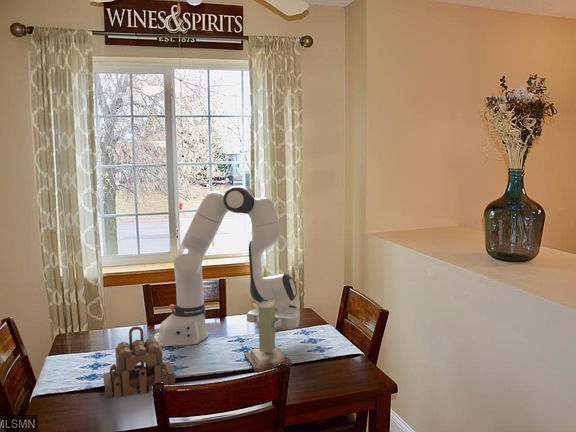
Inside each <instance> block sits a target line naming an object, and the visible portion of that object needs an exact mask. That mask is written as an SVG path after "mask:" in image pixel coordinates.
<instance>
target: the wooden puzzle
mask: <svg viewBox="0 0 576 432" xmlns="http://www.w3.org/2000/svg"><path fill="white" fill-rule="evenodd" d="M136 330H139V333H140V334H139V335H140V337H139V338H140V339H135V340H133V332H134V331H136ZM128 339H129V340H128V341H129V342H127V341H121V342H120V343H118V344H117V346H116V347H115V348H114V349H115V363H113V364H111V366H110V368H109V372H105V373H103V386H104V387H105V388H104V387H103V388H104V393H105V398H106V399H107V398H112V397H114V398H118V397H121V396H123V397H127V396H133V395H137V394H138V392H137V389H138V388H139V394H140V395H143V394H147V393H148V392H153V391H152V386H153V384H154V383H155V382H163V383H164V384H165V385H168V384H173V385H175V384H176V380H175V379H176V378H175V377H176V375H175V371H174V368H173V367H172V364H171V363H170V361H166V362H165V361H164V362H163V350H162V348H161V346H160V345H159V343H158V341H156V339H155V338H154V337H151V336H150V337H148V338H147V339H146V340H145V338H144V329H143V328H142V327H141V326H139V325H138V326H132V327H131V328H130V329H129V331H128ZM144 340H145V341H144ZM168 386H169V385H168ZM112 387H113V388H112Z"/></svg>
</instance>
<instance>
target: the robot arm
mask: <svg viewBox="0 0 576 432" xmlns="http://www.w3.org/2000/svg"><path fill="white" fill-rule="evenodd" d="M229 212H231V213H235V214H247V215H248V216H249V219H250V221H251V226H252V231H253V232H252V233H253V235H252V239H251V240H250V241H249V243H248V261H249V262H248V263H249V275H250V277H249V278H250V283H249V292H250V296H251V298H252V299H253V300H255V301H256V302H257V303H259V304H260V303H261V302H262V301H268V300H269V301H273V300H275V301H274V302H275V322H273V323H272V327H273V328H275V329H276V328H277V327H288V328H297V327H298V326H299V324H300V320H301V313H300V312H301V311H300V307H299V305H300V300H299V297H298V295H297V294H298V292H297V291H298V290H297V285H296V282H295V280H294V278H292V276H291V275H289V274H288V273H280V274H275V275H270V276H265V277H264V276H263V271H262V270H263V268H262V255H263V253H264V252H265V251H266V250H267V249H269V248H271V247H272V246H274V245H275V244H276V243H277V242H278V241H279V240H280V238H281V234H282V233H281V232H282V230H281V224H280V219H279V215H278V213H277V210H276V207H275V205H274V203H273V201H272V200H271V199H270V198H269V197H255V194H254V192H253V190H252V189H251V188H250V187H248V186H244V185H234V186H230V187H229V188H227V190H226V191H225V192H224V193H221V192H220V191H215V190H213V191H209V192H208V193H207V194H206V195H205V197H204V198H203V200H201V202H200V204H199V206H198V208H197V210H196V212H195V213H194V216H193V218H192V220H191V223H190V224H189V226H188V229H187V231H186V233H185V236H184V237H183V240H182V241H181V243H180V246H179V248H178V250H177V252H176V253H175V255H174V259H173V271H174V279H175V288H176V289H175V290H176V292H175V293H176V304H174V303H172V304H170V305H169V308H170V310H171V314H170V315H169V316H167V318H166V319H164V320H163V321H162V322H161V323H160V326H159V331H158V332H156V333H155V334H154V336H153V338H155V339H156V341H158V343H159V345H160V348H161V347H174V346H187V345H188V346H189V345H197V344H199V343H200V342H201V341H203V340H205V339H207V338H208V337H209V331H208V328H207V323H206V305H205V301H204V299H205V298H204V282H203V278H204V277H203V260H204V258H205V256H206V253H207V252H208V250H209V248H210V246H211V244H212V242H213V240H214V238H215V237H216V234H217V232H218V230H219V228H220V226H221V225H222V224H221V223H222V222H223V220H224V217H225V216H226V214H227V213H229ZM246 321H247V322H248V323H253V324H254V323H257V324H256V325H257V327H259V307H258V308H253V309H251V310H250V311H248V312H247V314H246Z"/></svg>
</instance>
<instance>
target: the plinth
mask: <svg viewBox="0 0 576 432" xmlns="http://www.w3.org/2000/svg"><path fill="white" fill-rule="evenodd" d="M244 356H245V357H244ZM243 357H244V358H245V359H247V360H248V361H247V360H246V361H247V362H248V364H249V363H250V364H249V365H250V367H251V366H252V367H251V368H252V369H253V371H254V372H261V371H267V370H271V368H273V369H275V368H274V367H276V366H278V365H279V364H283V363H284V364H287V365H290V366H292V365H293V362H292V360H290V359H289V357H287V355H286V354H285V353H284V352H283V351H282V350H281V349H280V348H279V347H277V346H276V345H275V349H274V350H273V351H272V352H271V353H268V352H260V351H259V348H251V349H250V352H246V353H244V354H243Z"/></svg>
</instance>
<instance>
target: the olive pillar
mask: <svg viewBox="0 0 576 432" xmlns="http://www.w3.org/2000/svg"><path fill="white" fill-rule="evenodd" d="M258 308H259V326H258V336H259V337H258V340H259V343H258V347H259V351H260V352H268V353H271V352H272V351H273V350H274V349H275V346H276V328H273V327H272V323H273V322H275V301H272V300H269V301H262V302H261V303H260V302H259V303H258Z"/></svg>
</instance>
